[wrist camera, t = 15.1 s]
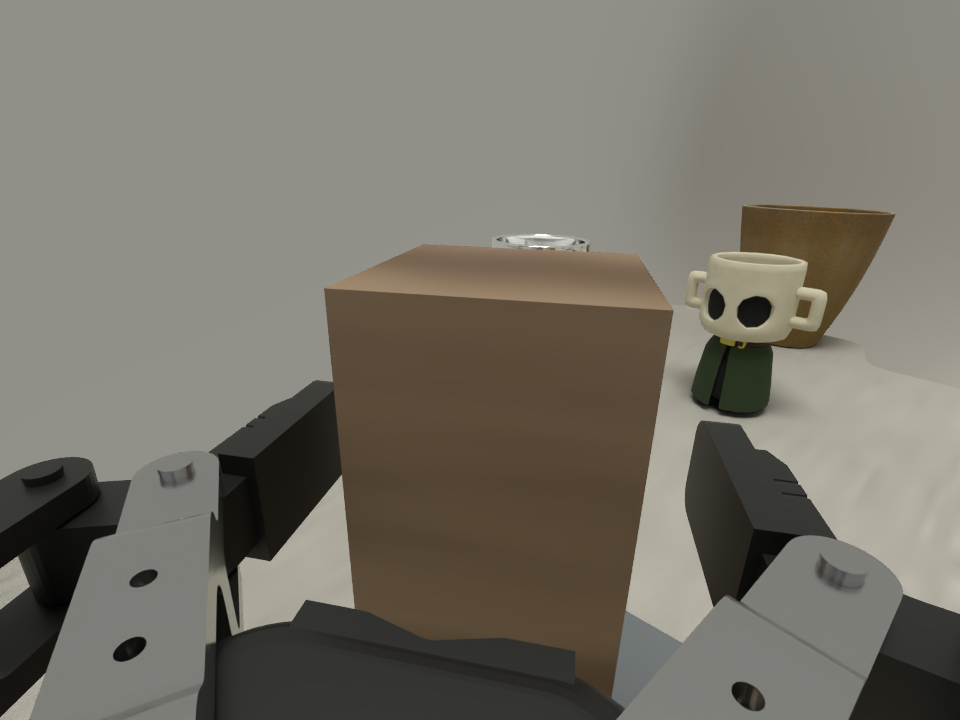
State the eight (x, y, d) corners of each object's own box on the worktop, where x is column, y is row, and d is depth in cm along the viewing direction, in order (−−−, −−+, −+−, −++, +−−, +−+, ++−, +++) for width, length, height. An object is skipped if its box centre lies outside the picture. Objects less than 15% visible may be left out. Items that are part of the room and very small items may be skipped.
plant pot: (844, 369, 53) (891, 214, 47) (702, 339, 62) (726, 205, 57) (860, 338, 64) (900, 208, 58) (736, 316, 73) (760, 201, 67)
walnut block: (573, 939, 12) (673, 310, 7) (381, 884, 13) (324, 288, 7) (576, 730, 17) (636, 254, 11) (434, 700, 18) (423, 244, 12)
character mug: (651, 394, 46) (672, 253, 42) (688, 375, 51) (711, 246, 46) (777, 438, 39) (820, 273, 34) (808, 412, 43) (849, 262, 39)
